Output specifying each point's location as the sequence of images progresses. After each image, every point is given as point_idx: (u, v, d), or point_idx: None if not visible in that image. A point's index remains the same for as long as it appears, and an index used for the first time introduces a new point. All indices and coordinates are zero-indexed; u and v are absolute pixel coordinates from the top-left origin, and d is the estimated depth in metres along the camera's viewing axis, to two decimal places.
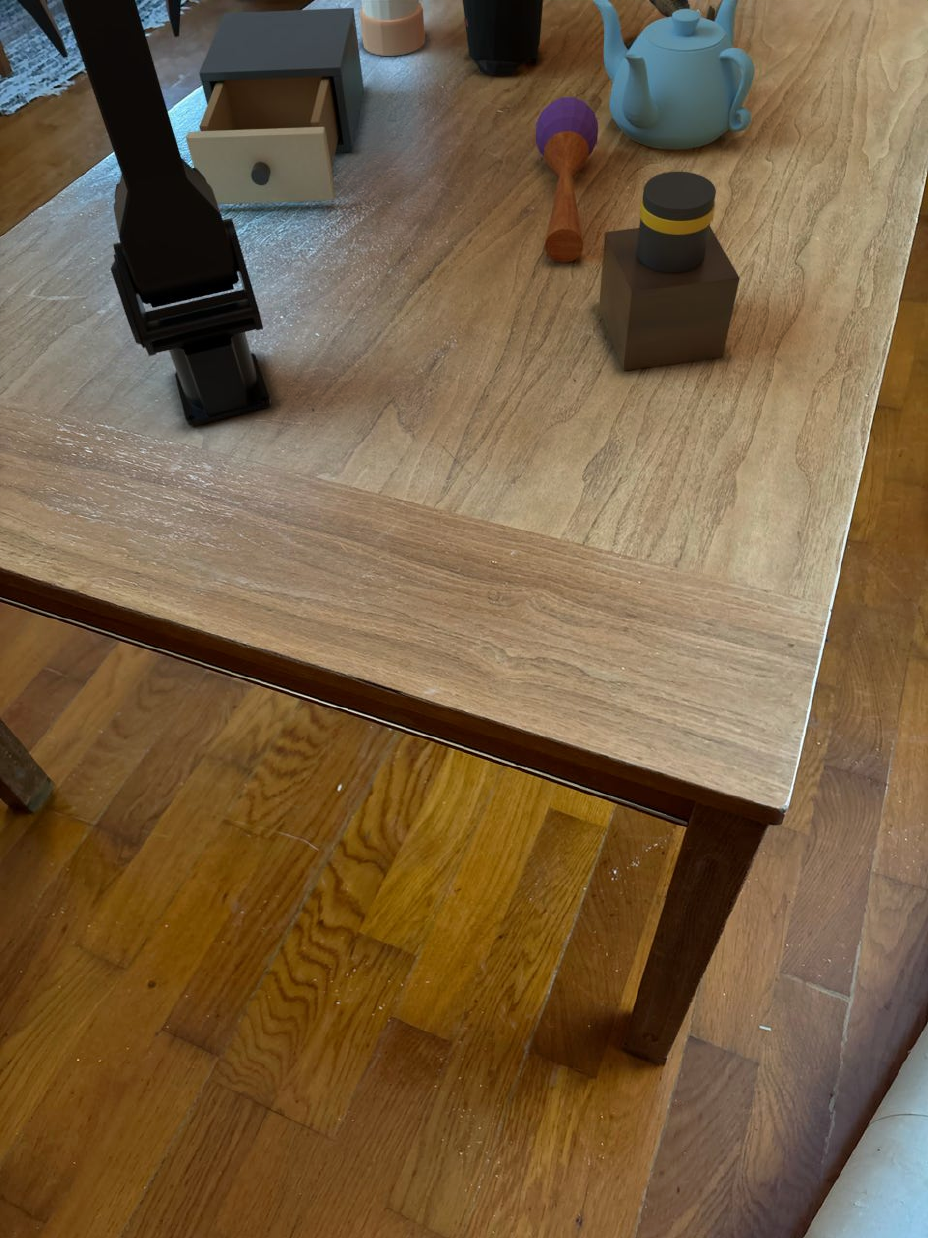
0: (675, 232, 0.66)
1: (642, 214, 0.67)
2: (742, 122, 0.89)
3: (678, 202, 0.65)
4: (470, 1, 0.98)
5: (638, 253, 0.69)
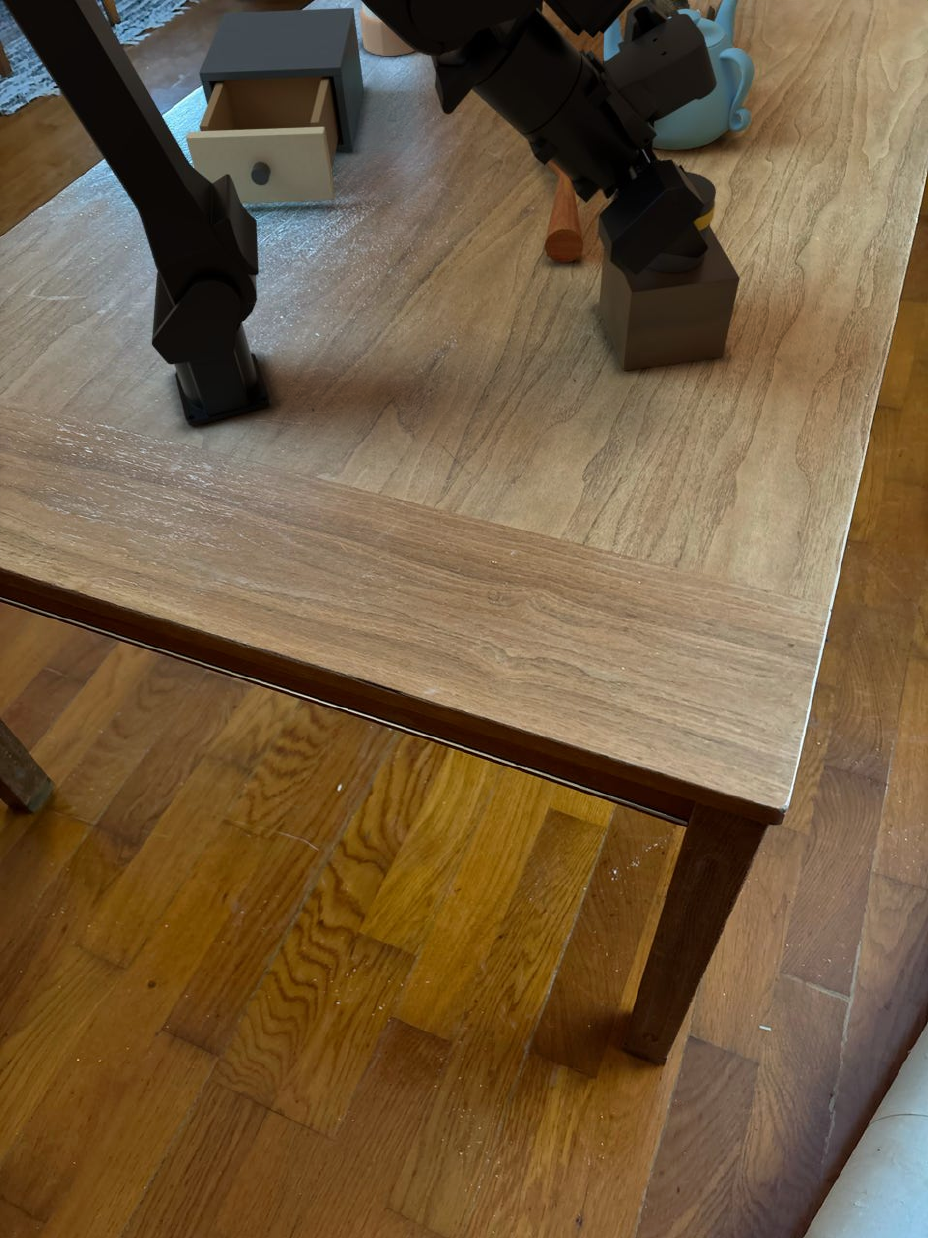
0: None
1: None
2: (742, 122, 0.89)
3: None
4: None
5: None
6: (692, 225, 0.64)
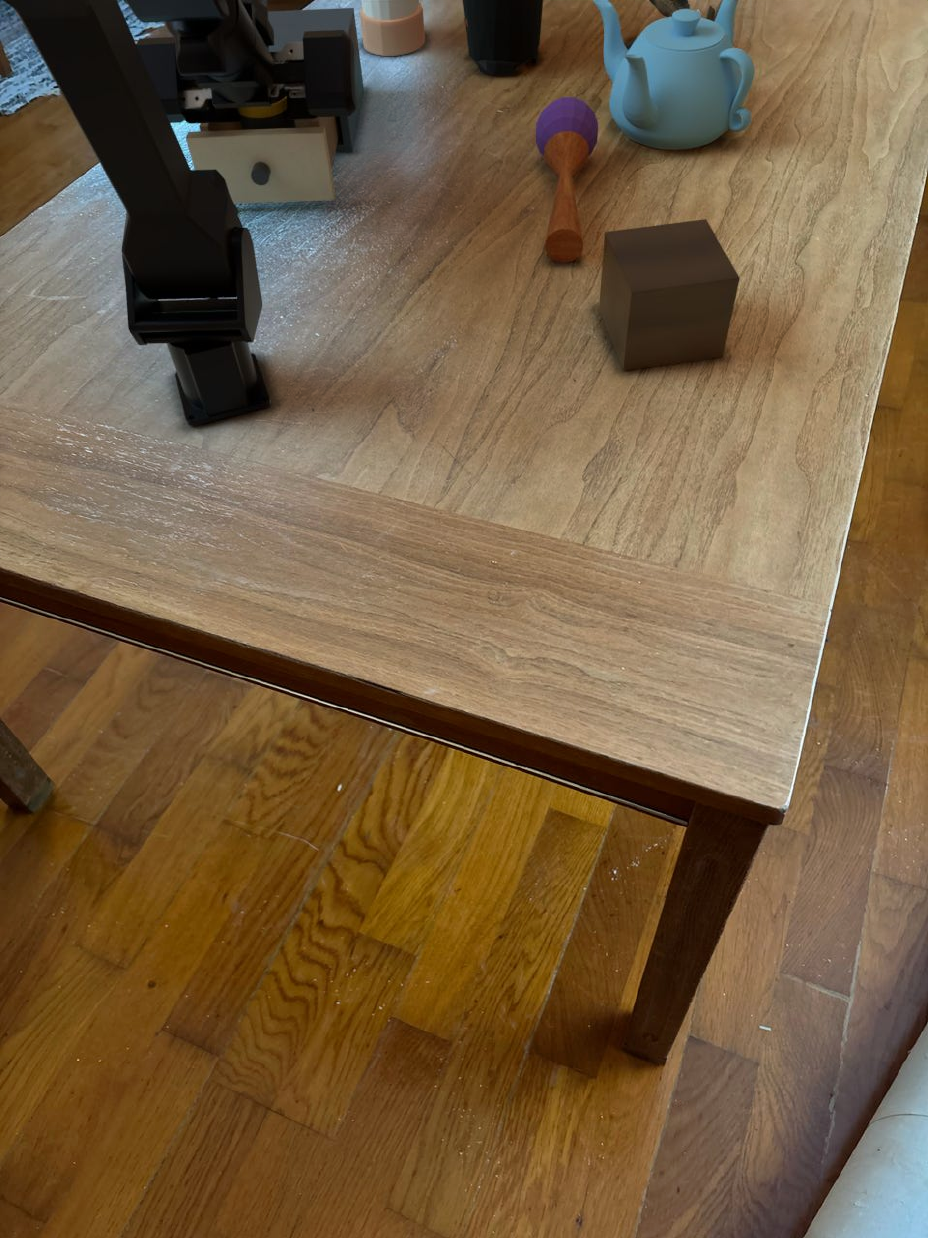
0: None
1: (261, 112, 0.85)
2: (742, 122, 0.89)
3: None
4: (470, 1, 0.98)
5: None
6: None
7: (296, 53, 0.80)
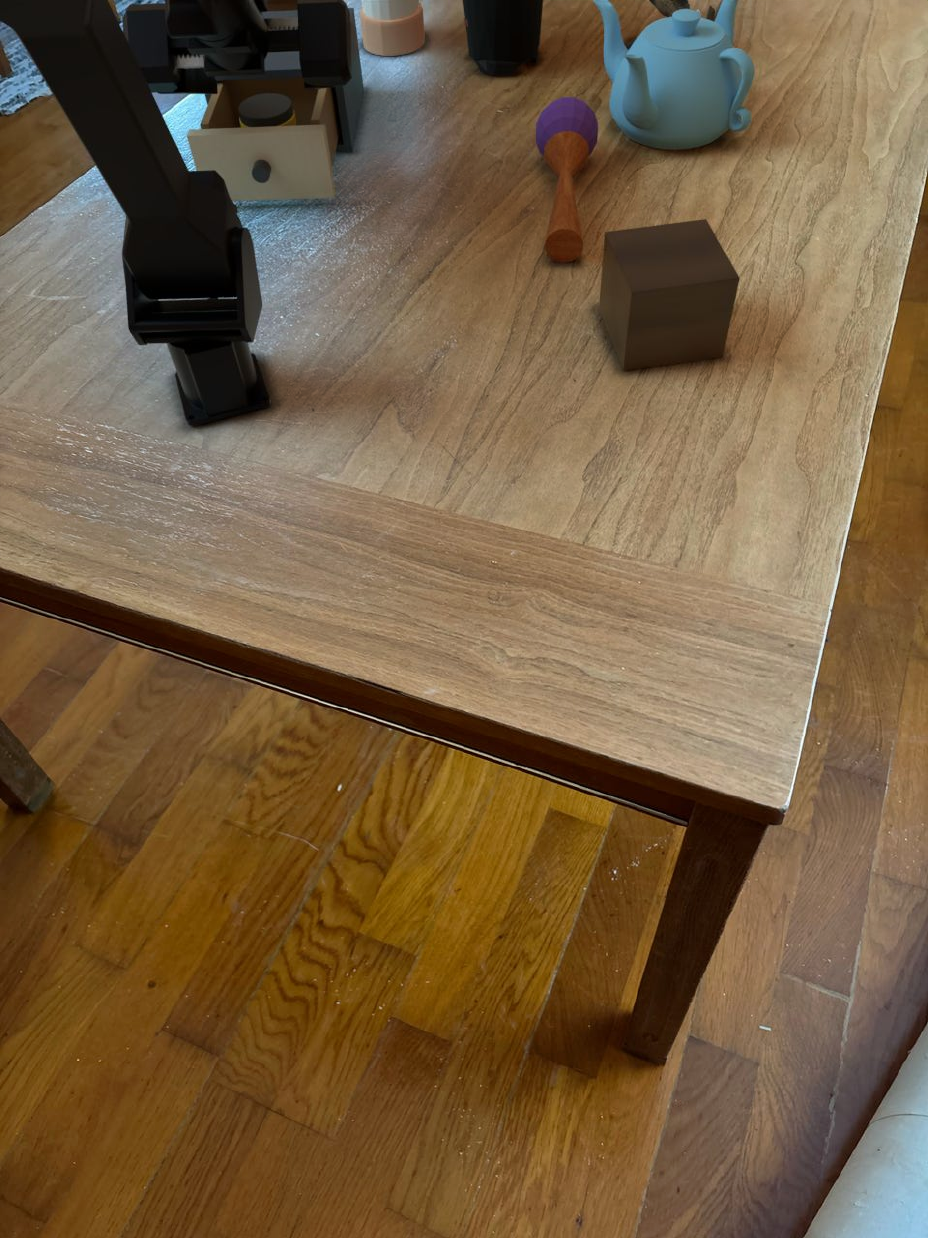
0: None
1: None
2: (742, 122, 0.89)
3: (281, 107, 0.86)
4: (470, 1, 0.98)
5: None
6: None
7: None
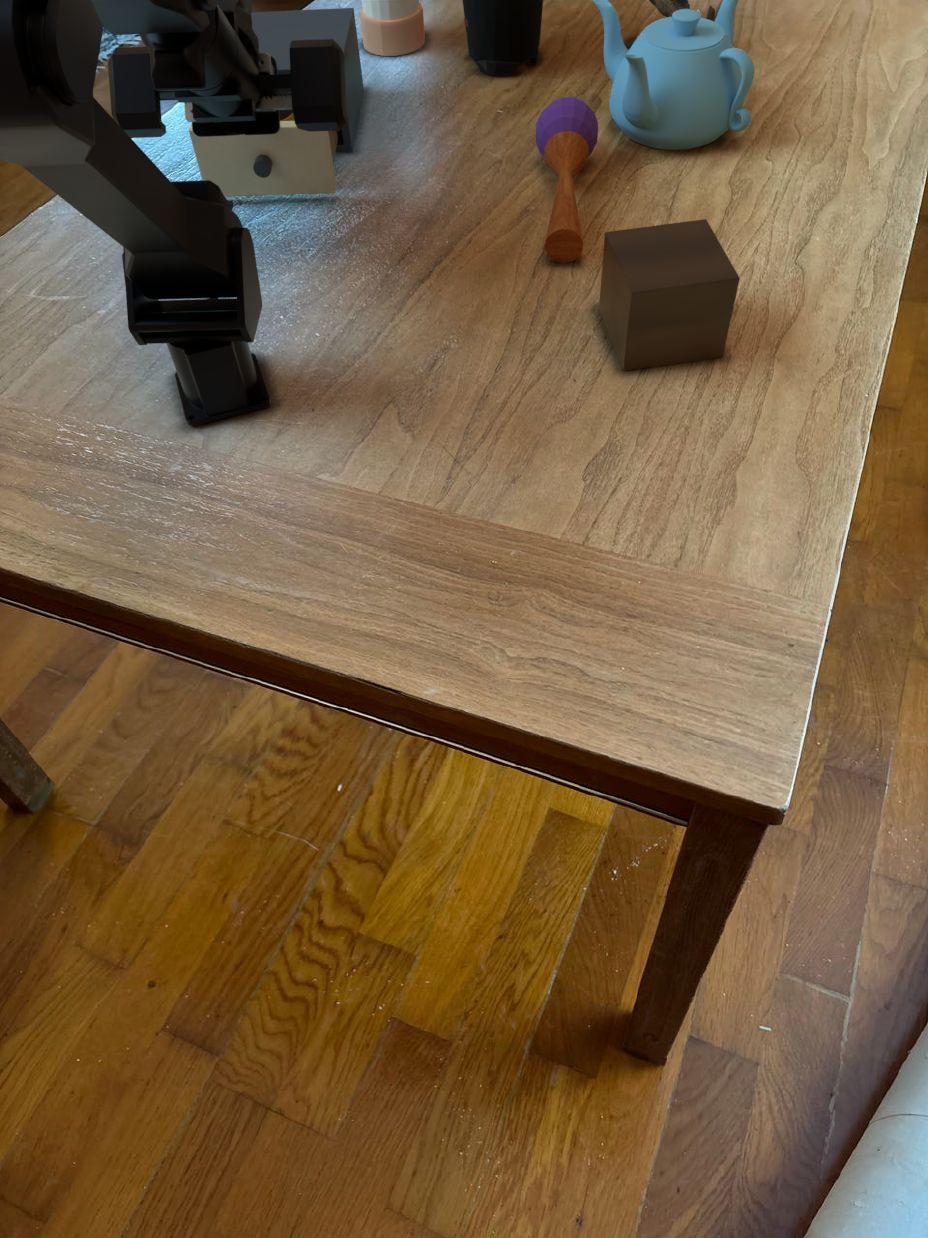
0: None
1: None
2: (742, 122, 0.89)
3: None
4: (470, 1, 0.98)
5: None
6: None
7: None
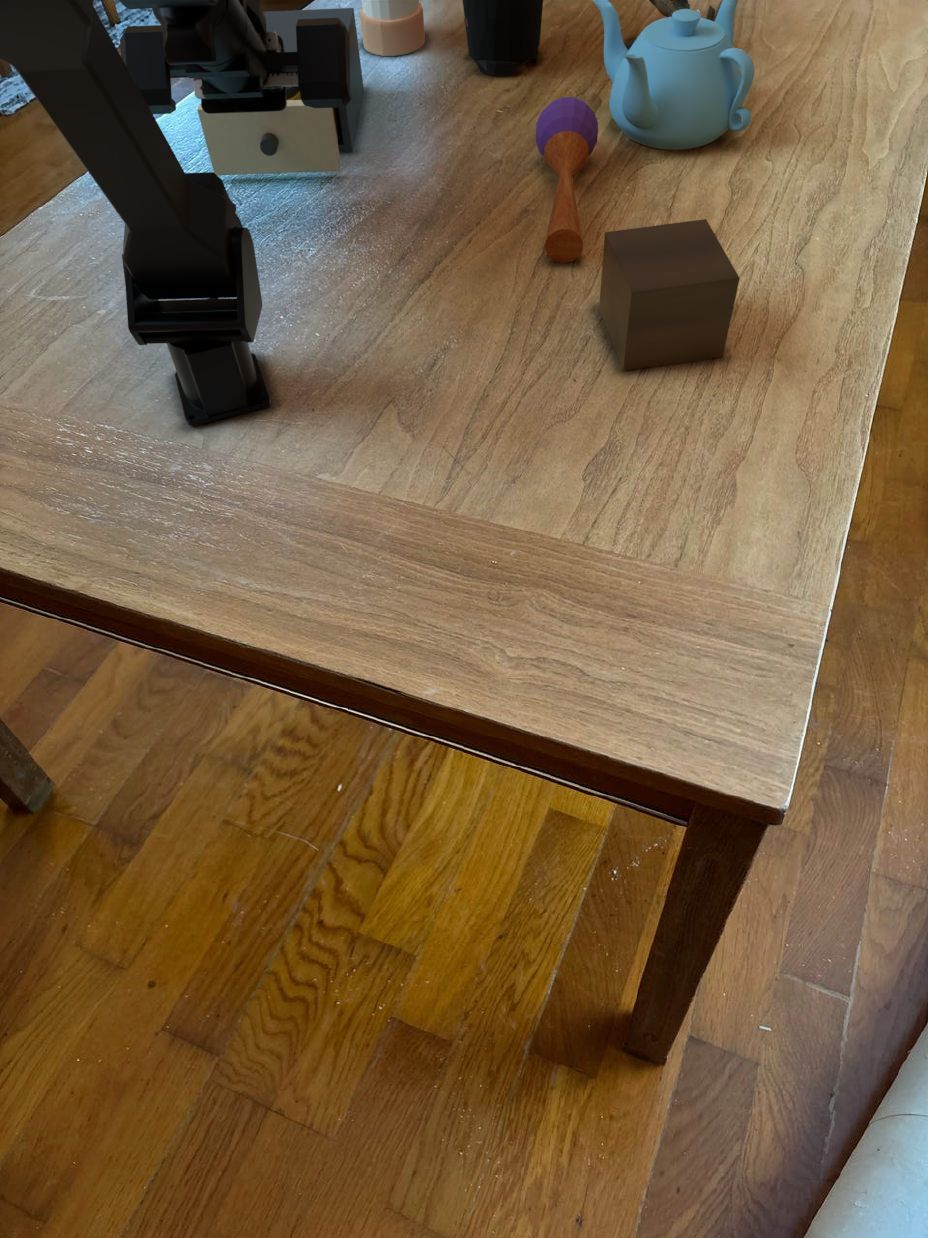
0: None
1: None
2: (742, 122, 0.89)
3: None
4: (470, 1, 0.98)
5: None
6: None
7: None
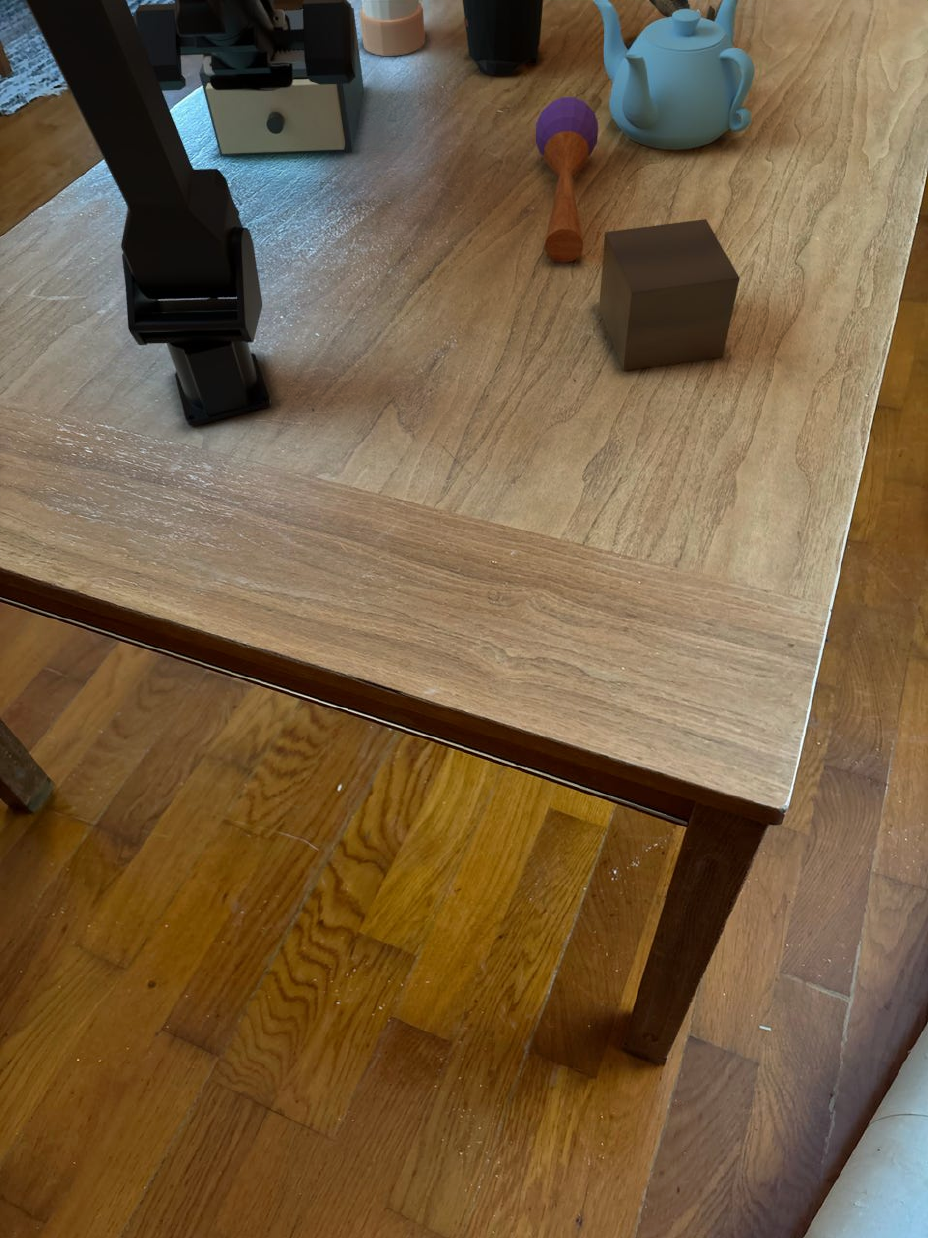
0: None
1: None
2: (742, 122, 0.89)
3: None
4: (470, 1, 0.98)
5: None
6: None
7: None
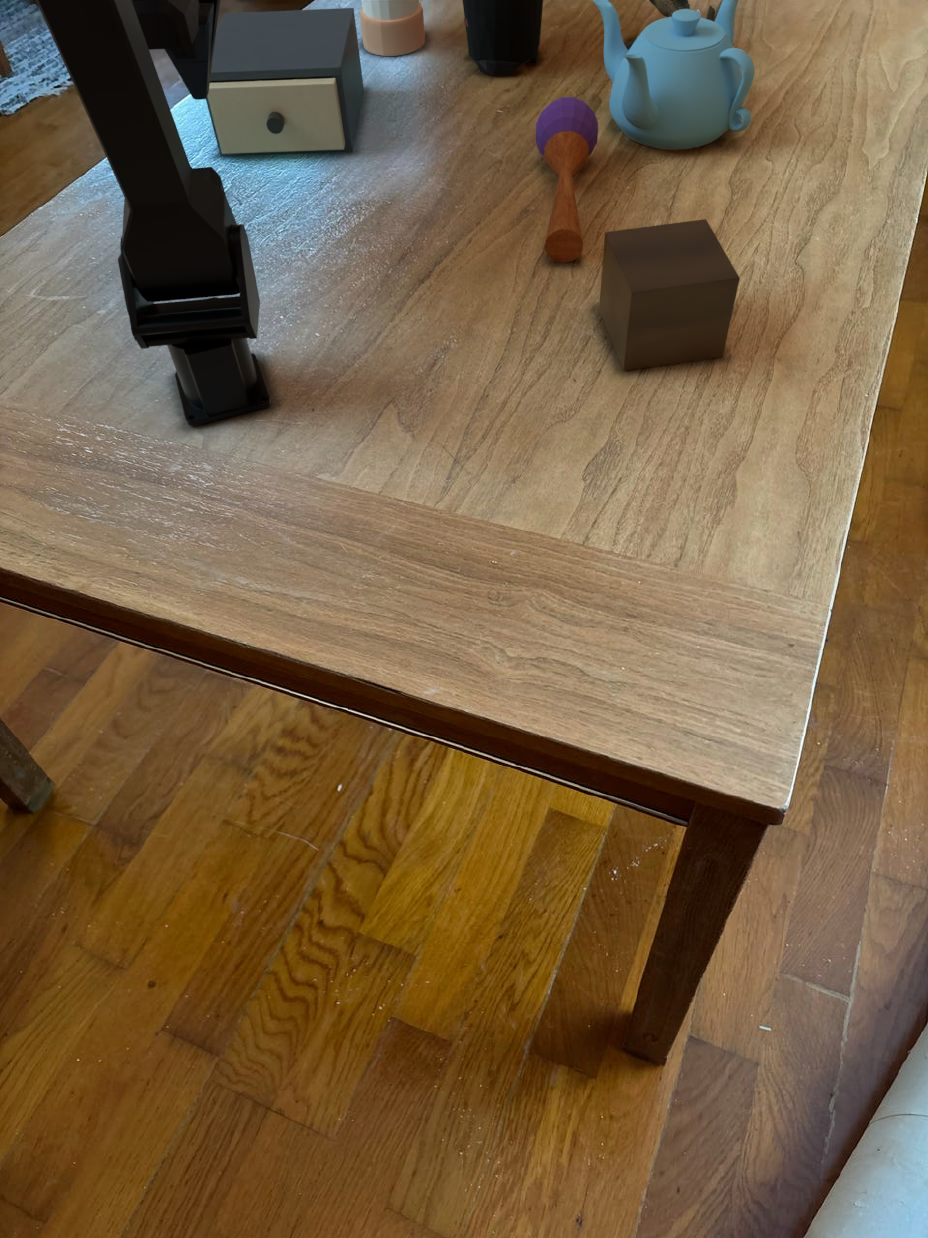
0: None
1: None
2: (742, 122, 0.89)
3: None
4: (470, 1, 0.98)
5: None
6: None
7: None
